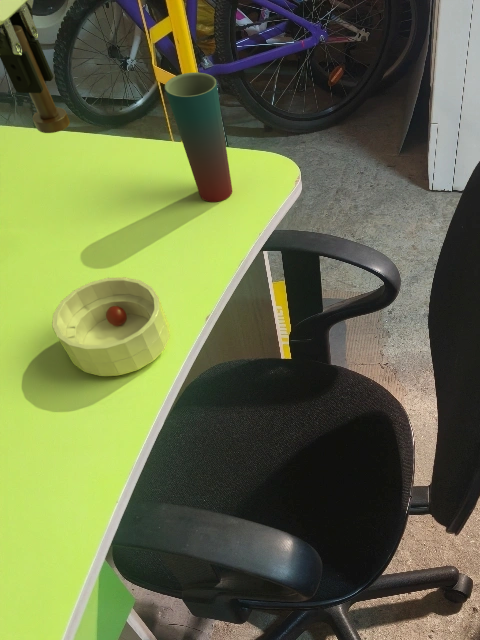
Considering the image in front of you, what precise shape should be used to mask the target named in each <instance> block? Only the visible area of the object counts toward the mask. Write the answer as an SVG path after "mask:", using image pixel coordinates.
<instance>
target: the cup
mask: <svg viewBox="0 0 480 640" xmlns="http://www.w3.org/2000/svg"><path fill="white" fill-rule="evenodd" d="M164 91H165V94H166V96H167V99H168V102H169V106H170V108H171V112H172V114H173V118H174V121H175V124H176V127H177V130H178V134H179V136H180V139H181V142H182V145H183V148H184V151H185V154H186V157H187V161H188V163H189V166H190V170H191V172H192V175H193V178H194V181H195V185H196V188H197V191H198V194H199V197H200V198H201V199H202V200H203V201H206V202H209V203H210V202H211V203H217V202H222V201H224V200H227V199H228V198H230V197H231V196H232V194H233V185H232V177H231V172H230V165H229V157H228V151H227V145H226V138H225V137H226V136H225V131H224V123H223V116H222V110H221V104H220V96H219V89H218V83H217V79H216V78H215V77H214V76H213V75H211V74H208V73H205V72H195V71H194V72H186V73H182V74H181V73H180V74H177V75H176V76H174V77H172V78H170V79H168V80H167V81H166V82H165V84H164Z"/></svg>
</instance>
